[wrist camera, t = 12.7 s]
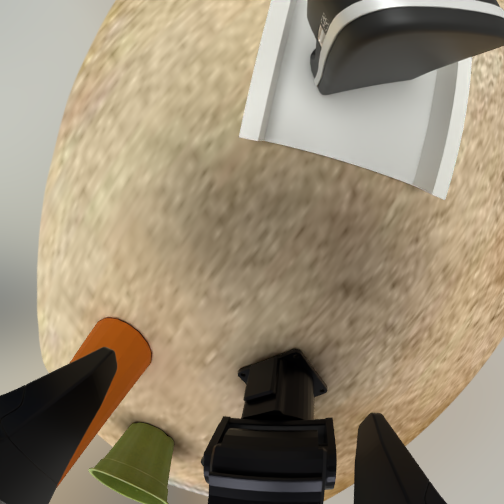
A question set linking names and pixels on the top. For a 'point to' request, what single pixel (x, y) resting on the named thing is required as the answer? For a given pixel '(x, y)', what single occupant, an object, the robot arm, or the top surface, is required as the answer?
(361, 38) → the battery charger
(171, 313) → the top surface
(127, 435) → the plant pot
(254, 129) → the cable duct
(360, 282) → the top surface
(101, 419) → the spray bottle
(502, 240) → the top surface
